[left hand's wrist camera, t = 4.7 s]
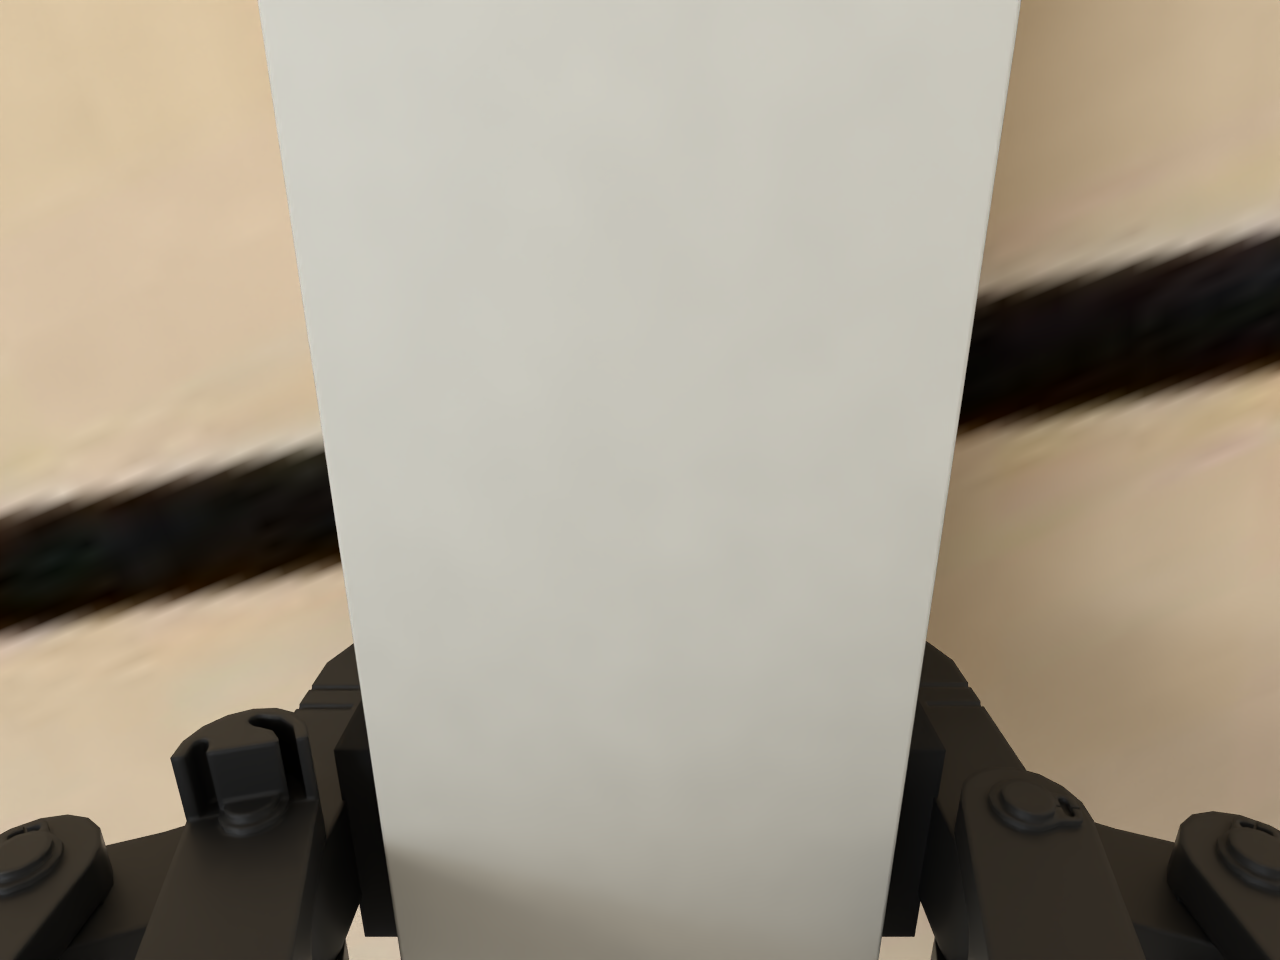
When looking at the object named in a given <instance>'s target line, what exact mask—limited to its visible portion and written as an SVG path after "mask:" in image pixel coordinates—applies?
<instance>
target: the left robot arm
mask: <svg viewBox="0 0 1280 960" xmlns="http://www.w3.org/2000/svg"><path fill="white" fill-rule="evenodd" d="M170 759H171V762H172V766H173V770H174V774H175V778H176V782H177V785H178V789H179V793H180V797H181V801H182V805H183V808H184V812H185V816H186V820H187V822H186V825H185V826H182V827H179V828H176V829H173V830H169V831H166V832H162V833H158V834H154V835H150V836H145V837H141V838H137V839H132V840H128V841H124V842H120V843H115V844H111V845H107V846H105V842H104V839H103V836H102V833H101V830H100V828H99V827H98V826H97V825H96V824H95V823H94V822H93V821H91V820H90V819H89V818H86V817H80V816H73V815H61V816H54V817H47V818H40V819H38V820H35V821H32V822H29V823H26V824H23V825H20V826H18V827H15V828H12V829H9V830H8V831H6V832H4V833H2V834H0V960H349V956H348V950H347V944H346V936H347V934H348V931H349V928H350V926H351V923H352V921H353V918H354V916H355V913H356V911H357V908H358V906H359V904H360V910H361V916H362V921H363V927H364V933H365V937H398V936H397V929H396V922H395V916H394V909H393V902H392V896H391V889H390V882H389V875H388V869H387V862H386V855H385V849H384V842H383V835H382V829H381V822H380V815H379V809H378V802H377V795H376V788H375V782H374V775H373V768H372V762H371V755H370V748H369V742H368V735H367V728H366V722H365V715H364V708H363V701H362V695H361V688H360V681H359V675H358V668H357V661H356V655H355V648H354V644H352V645H351V646H349V647H348V648H347V649H345V650H344V651H343V652H341V653H340V654H339V655H337V656H336V657H334V658H333V659H332V660H330V661H329V662H328V663H327V664H326V665H325V667H324V668H323V670H322V671H321V673H320V674H319V676H318V677H317V679H316V680H315V682H314V683H313V685H312V690H309V691H308V692H307V694H306V695H305V697H304V698H303V700H302V701H301V703H300V707H299V709H296V710H295V712H290V711H286V710H282V709H278V708H265V709H251V710H247V711H243V712H239V713H235V714H231V715H227V716H225V717H223V718H220V719H218V720H216V721H214V722H212V723H210V724H207V725H205V726H203V727H202V728H200V729H199V730H198V731H196V732H195V733H193V734H192V735H191V736H189V737H188V738H187V739H185V740H184V741H183V742H182V743H181V744H180V746H179V747H178V749H177V750H176V751H175V753H174V754H173V755H172V757H171V758H170ZM920 901H921V903H922V906H923V908H924V911H925V913H926V916H927V918H928V921H929V923H930V926H931V928H932V931H933V933H934V936H935V939H934V944H933V950H932V955H931V960H1280V831H1279V830H1277V829H1275V828H1274V827H1272V826H1270V825H1267V824H1264V823H1261V822H1259V821H1255V820H1253V819H1250V818H1247V817H1244V816H1241V815H1236V814H1228V813H1221V812H1214V811H1212V812H1205V813H1199V814H1192V815H1191V816H1190V817H1189V818H1188V819H1186V820H1185V821H1184V822H1183V823H1182V824H1181V825H1180V828H1179V831H1178V834H1177V837H1176V840H1175V843H1174V842H1170V841H1166V840H1161V839H1157V838H1153V837H1148V836H1144V835H1140V834H1135V833H1131V832H1127V831H1123V830H1118V829H1115V828H1111V827H1108V826H1105V825H1101V824H1098V823H1095V822H1094V821H1093V819H1092V817H1091V816H1090V814H1089V813H1088V811H1087V810H1086V808H1085V806H1084V805H1083V803H1082V802H1081V801H1080V800H1078V799H1077V798H1076V797H1075V796H1074V795H1072V794H1071V793H1070V792H1069V791H1068V790H1066V789H1065V788H1064V787H1063V786H1061V785H1059V784H1057V783H1055V782H1053V781H1051V780H1049V779H1047V778H1045V777H1044V776H1042V775H1040V774H1036V773H1033V772H1029V771H1026V769H1025V768H1024V766H1023V765H1022V763H1021V762H1020V760H1019V759H1018V757H1017V756H1016V754H1015V753H1014V751H1013V750H1012V748H1011V747H1010V745H1009V744H1008V742H1007V741H1006V739H1005V738H1004V736H1003V735H1002V733H1001V732H1000V730H999V729H998V727H997V726H996V724H995V723H994V721H993V720H992V718H991V717H990V715H989V714H988V712H987V711H986V709H985V708H984V707H981V705H980V700H979V699H978V697H977V696H976V694H975V693H974V691H973V690H972V688H971V687H968V682H967V681H966V679H965V678H964V676H963V675H962V673H961V672H960V670H959V669H958V667H957V666H956V664H955V663H954V661H953V660H952V659H950V658H949V657H947V656H946V655H945V654H943V653H942V652H941V651H939V650H938V649H936V648H935V647H934V646H932V645H931V644H930V643H928V642H927V641H926V643H925V650H924V656H923V663H922V670H921V677H920V683H919V690H918V697H917V703H916V710H915V717H914V724H913V730H912V737H911V744H910V750H909V757H908V764H907V771H906V777H905V784H904V791H903V797H902V804H901V811H900V818H899V824H898V831H897V838H896V844H895V851H894V858H893V865H892V871H891V878H890V885H889V891H888V898H887V905H886V912H885V918H884V925H883V932H882V937H914V936H915V930H916V925H917V919H918V913H919V907H920Z"/></svg>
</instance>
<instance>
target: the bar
mask: <svg viewBox="0 0 1280 960" xmlns="http://www.w3.org/2000/svg"><path fill="white" fill-rule="evenodd" d="M258 5H259V12H260V19H261V25H262V32H263V39H264V46H265V52H266V59H267V66H268V72H269V79H270V86H271V92H272V99H273V106H274V113H275V119H276V126H277V133H278V139H279V146H280V153H281V159H282V166H283V173H284V179H285V186H286V193H287V200H288V206H289V213H290V220H291V226H292V233H293V240H294V246H295V253H296V260H297V266H298V273H299V280H300V287H301V293H302V300H303V307H304V313H305V320H306V327H307V333H308V340H309V347H310V353H311V360H312V367H313V374H314V380H315V387H316V394H317V400H318V407H319V414H320V420H321V427H322V434H323V440H324V447H325V454H326V461H327V467H328V474H329V481H330V487H331V494H332V501H333V507H334V514H335V521H336V527H337V534H338V541H339V548H340V554H341V561H342V568H343V574H344V581H345V588H346V594H347V601H348V608H349V614H350V621H351V628H352V635H353V641H354V648H355V655H356V661H357V668H358V675H359V681H360V688H361V695H362V701H363V708H364V715H365V722H366V728H367V735H368V742H369V748H370V755H371V762H372V768H373V775H374V782H375V788H376V795H377V802H378V809H379V815H380V822H381V829H382V835H383V842H384V849H385V855H386V862H387V869H388V875H389V882H390V889H391V896H392V902H393V909H394V916H395V922H396V929H397V936H398V942H399V949H400V956H401V960H878V959H879V952H880V945H881V938H882V932H883V925H884V918H885V912H886V905H887V898H888V891H889V885H890V878H891V871H892V865H893V858H894V851H895V844H896V838H897V831H898V824H899V818H900V811H901V804H902V797H903V791H904V784H905V777H906V771H907V764H908V757H909V750H910V744H911V737H912V730H913V724H914V717H915V710H916V703H917V697H918V690H919V683H920V677H921V670H922V663H923V656H924V650H925V643H926V636H927V630H928V623H929V616H930V609H931V603H932V596H933V589H934V583H935V576H936V569H937V562H938V556H939V549H940V542H941V536H942V529H943V522H944V515H945V509H946V502H947V495H948V489H949V482H950V475H951V468H952V462H953V455H954V448H955V442H956V435H957V428H958V421H959V415H960V408H961V401H962V395H963V388H964V381H965V374H966V368H967V361H968V354H969V348H970V341H971V334H972V327H973V321H974V314H975V307H976V301H977V294H978V287H979V280H980V274H981V267H982V260H983V254H984V247H985V240H986V233H987V227H988V220H989V213H990V207H991V200H992V193H993V186H994V180H995V173H996V166H997V160H998V153H999V146H1000V139H1001V133H1002V126H1003V119H1004V113H1005V106H1006V99H1007V92H1008V86H1009V79H1010V72H1011V66H1012V59H1013V52H1014V45H1015V39H1016V32H1017V25H1018V19H1019V12H1020V5H1021V0H258Z"/></svg>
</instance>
